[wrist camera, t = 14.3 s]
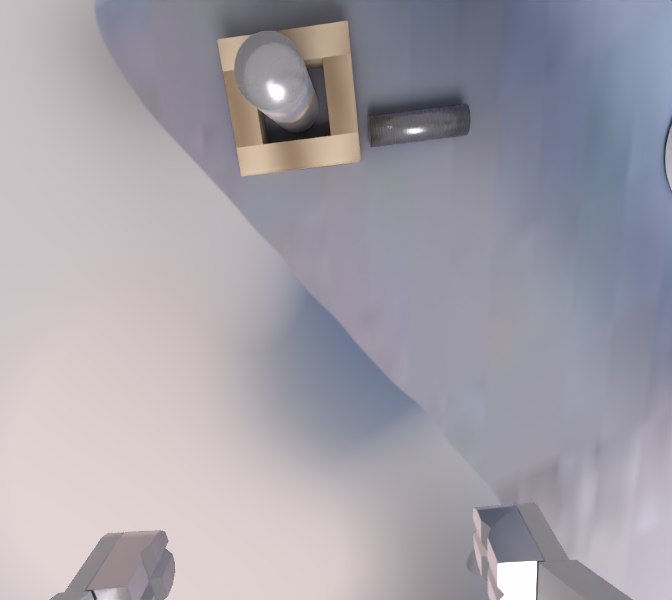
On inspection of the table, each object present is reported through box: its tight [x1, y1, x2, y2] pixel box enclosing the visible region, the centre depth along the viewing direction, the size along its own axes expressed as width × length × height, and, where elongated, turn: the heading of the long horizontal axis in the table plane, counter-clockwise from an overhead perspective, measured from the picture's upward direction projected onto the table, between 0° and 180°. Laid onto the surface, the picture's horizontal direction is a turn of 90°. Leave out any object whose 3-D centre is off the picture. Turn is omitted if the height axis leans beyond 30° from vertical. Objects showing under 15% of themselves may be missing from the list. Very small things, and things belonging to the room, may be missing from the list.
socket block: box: [217, 21, 361, 176], centre depth 33 cm, size 10×10×2 cm
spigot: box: [234, 31, 319, 132], centre depth 28 cm, size 4×4×12 cm
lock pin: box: [368, 104, 470, 147], centre depth 33 cm, size 8×2×2 cm, turn 97°
